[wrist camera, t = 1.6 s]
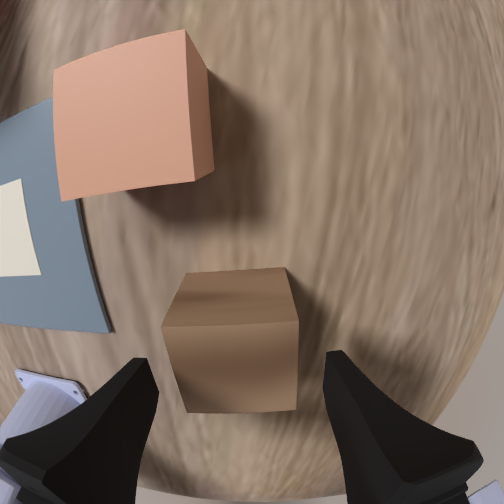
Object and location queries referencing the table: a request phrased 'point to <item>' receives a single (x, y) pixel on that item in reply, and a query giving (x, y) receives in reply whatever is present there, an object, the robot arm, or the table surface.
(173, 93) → the terracotta block
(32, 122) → the plate
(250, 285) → the walnut block
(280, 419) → the table surface
